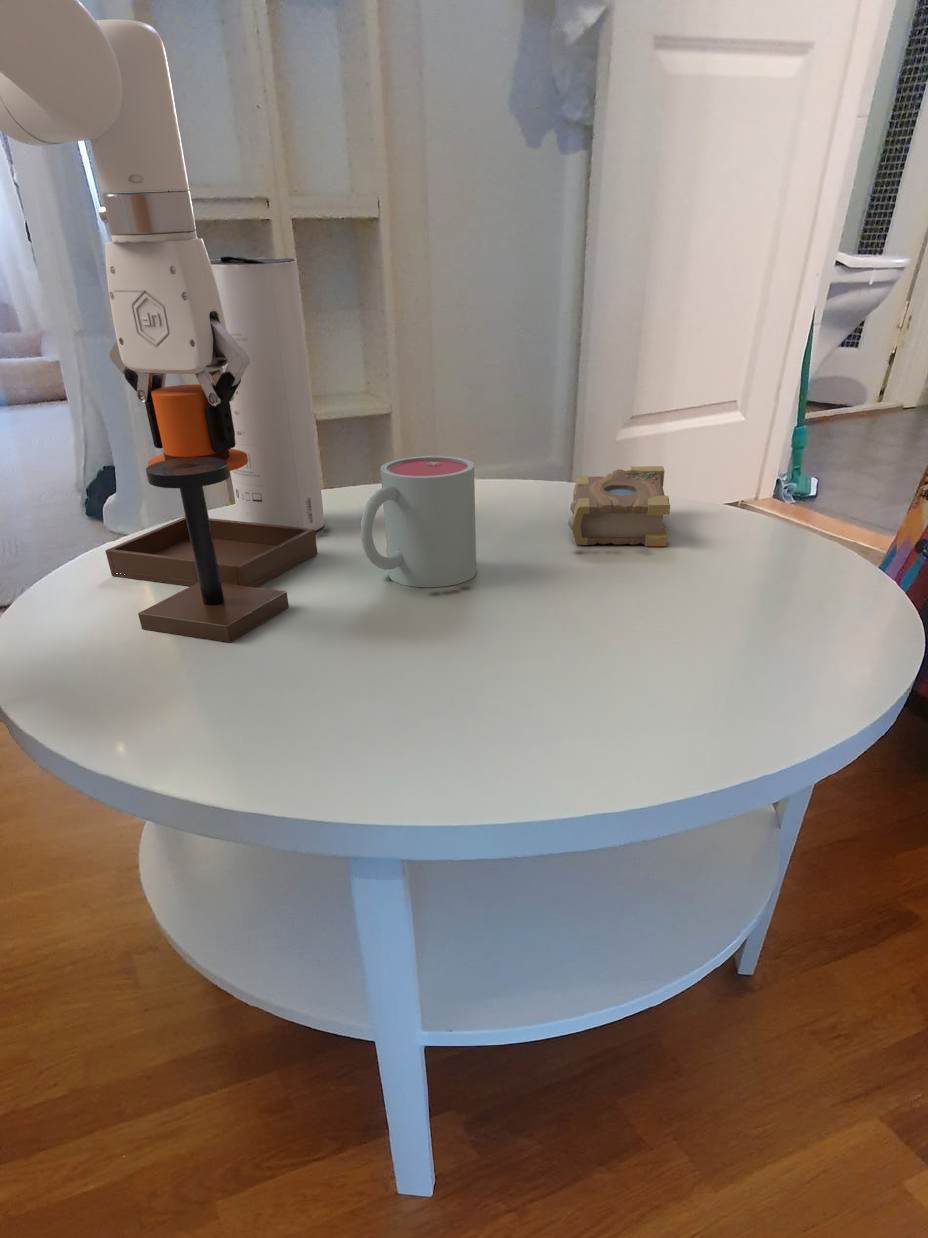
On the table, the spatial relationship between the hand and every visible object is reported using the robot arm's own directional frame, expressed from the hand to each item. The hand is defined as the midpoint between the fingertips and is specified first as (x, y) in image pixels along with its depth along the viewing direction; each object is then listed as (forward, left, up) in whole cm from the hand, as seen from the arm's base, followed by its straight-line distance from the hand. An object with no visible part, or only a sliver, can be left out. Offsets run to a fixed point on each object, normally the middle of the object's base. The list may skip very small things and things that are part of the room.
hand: (195, 445), depth 95 cm
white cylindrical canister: (-1, +15, -12) cm, 19 cm away
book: (+37, +27, -12) cm, 47 cm away
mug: (+23, +3, -12) cm, 26 cm away
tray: (0, 0, -11) cm, 11 cm away
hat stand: (+10, -14, -11) cm, 21 cm away
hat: (0, 0, -2) cm, 2 cm away
